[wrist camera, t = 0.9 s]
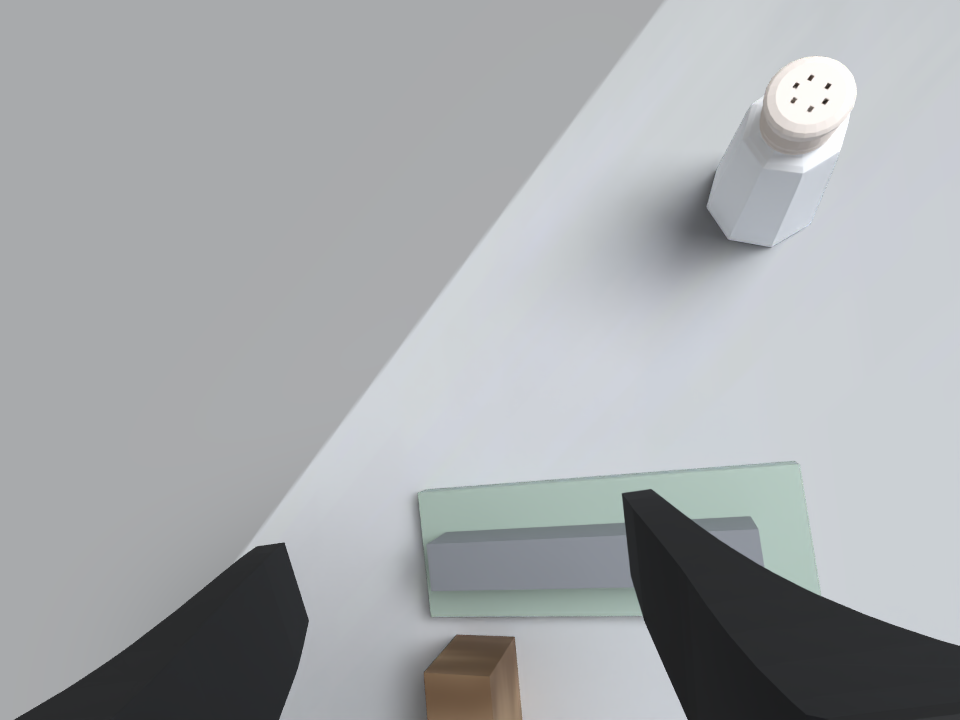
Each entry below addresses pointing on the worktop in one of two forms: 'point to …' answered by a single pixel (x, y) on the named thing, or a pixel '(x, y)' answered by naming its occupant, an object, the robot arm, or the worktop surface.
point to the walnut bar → (474, 680)
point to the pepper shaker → (783, 153)
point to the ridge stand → (597, 537)
